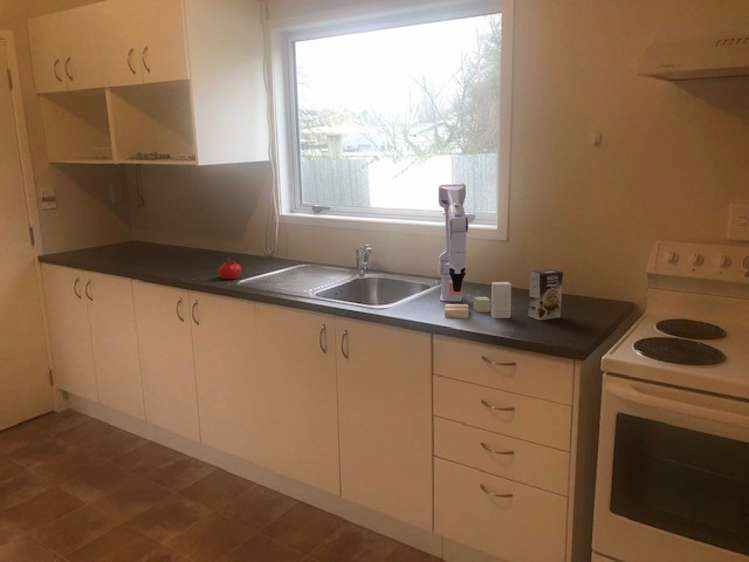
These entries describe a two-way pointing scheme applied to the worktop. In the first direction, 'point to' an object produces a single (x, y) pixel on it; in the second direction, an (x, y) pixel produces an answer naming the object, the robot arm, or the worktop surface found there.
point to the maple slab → (456, 310)
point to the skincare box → (501, 300)
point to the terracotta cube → (451, 290)
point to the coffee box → (545, 294)
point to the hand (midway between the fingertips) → (457, 289)
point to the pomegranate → (230, 270)
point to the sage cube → (481, 304)
